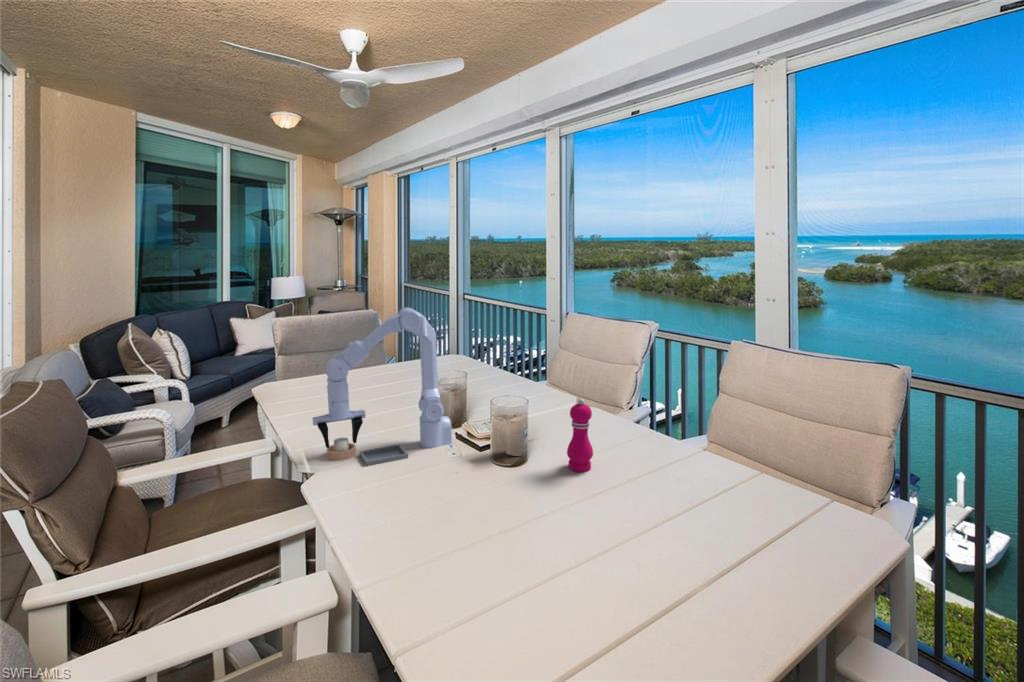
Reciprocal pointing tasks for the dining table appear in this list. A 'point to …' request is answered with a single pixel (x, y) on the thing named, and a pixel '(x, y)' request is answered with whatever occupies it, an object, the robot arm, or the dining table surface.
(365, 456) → the parts tray
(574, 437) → the pepper mill
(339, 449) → the pale grey rounded cylinder
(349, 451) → the bowl
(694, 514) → the dining table surface
